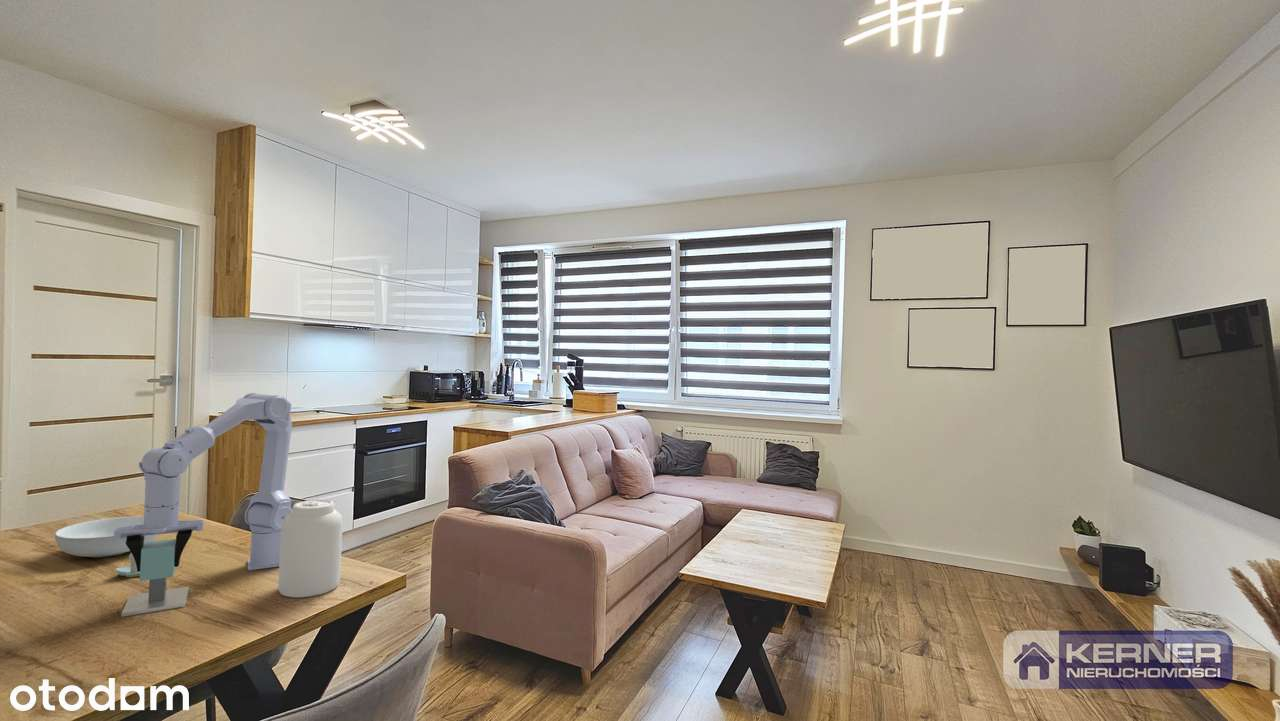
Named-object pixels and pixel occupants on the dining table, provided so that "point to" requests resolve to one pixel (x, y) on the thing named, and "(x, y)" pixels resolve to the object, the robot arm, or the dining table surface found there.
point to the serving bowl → (97, 537)
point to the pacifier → (129, 569)
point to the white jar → (310, 549)
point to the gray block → (156, 599)
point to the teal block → (158, 559)
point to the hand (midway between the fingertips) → (158, 567)
